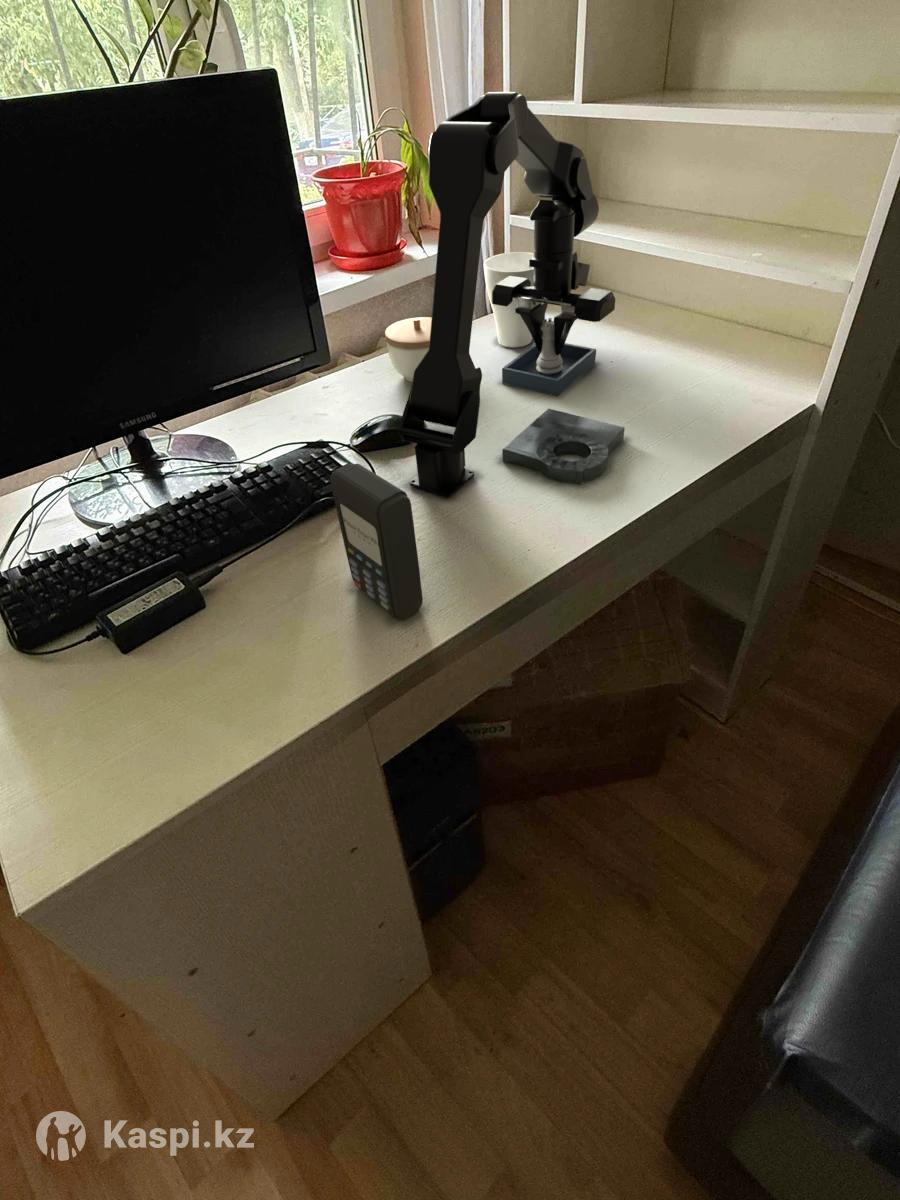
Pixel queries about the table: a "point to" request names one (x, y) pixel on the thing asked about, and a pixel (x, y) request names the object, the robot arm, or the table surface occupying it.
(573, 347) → the tray
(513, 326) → the cup
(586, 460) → the drain plate
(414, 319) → the trinket box
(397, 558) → the card reader
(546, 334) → the rook chess piece
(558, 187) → the robot arm
